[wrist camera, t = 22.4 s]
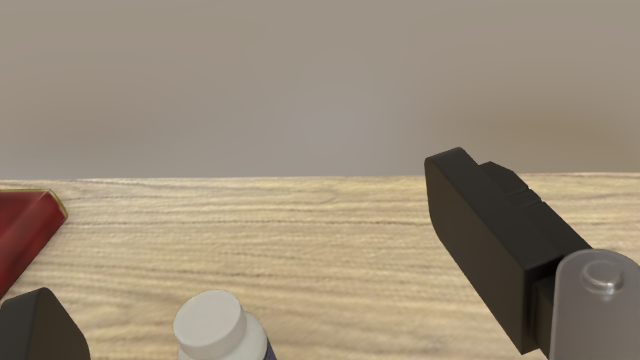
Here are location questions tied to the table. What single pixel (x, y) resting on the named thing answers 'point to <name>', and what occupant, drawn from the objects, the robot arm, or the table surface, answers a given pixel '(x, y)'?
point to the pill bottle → (219, 330)
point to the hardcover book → (25, 229)
